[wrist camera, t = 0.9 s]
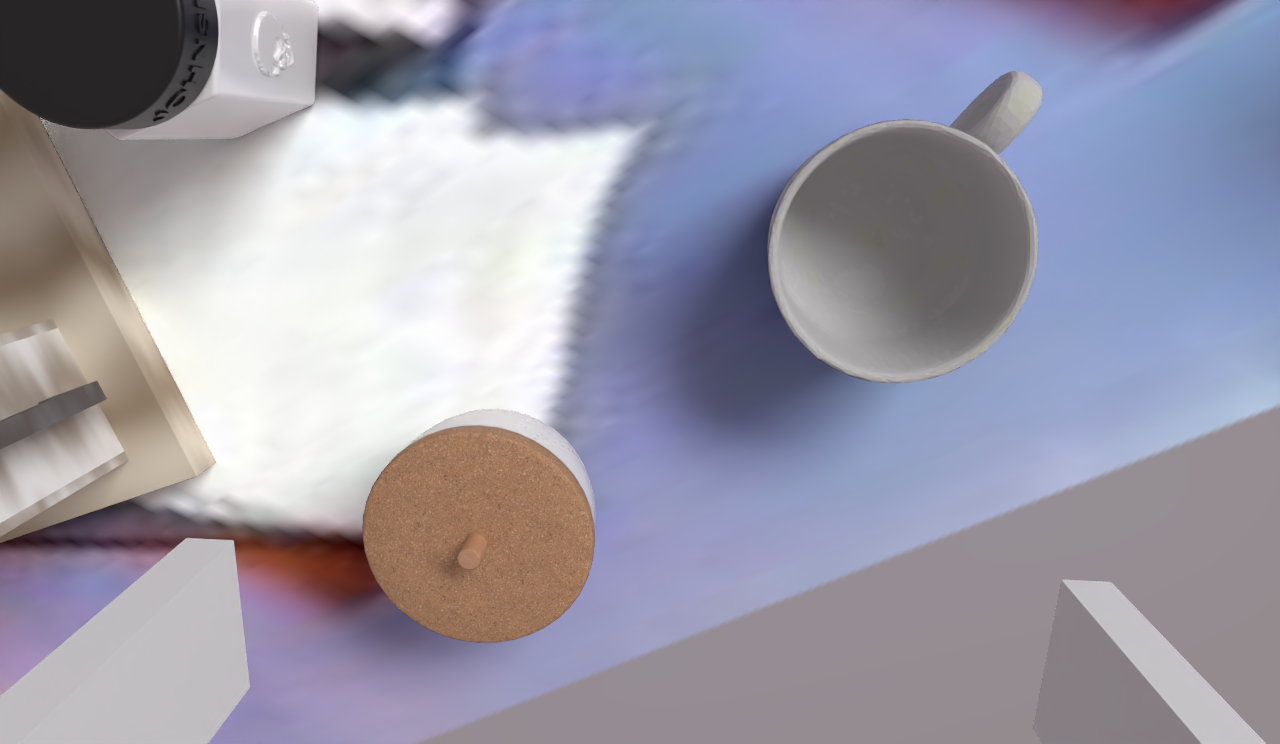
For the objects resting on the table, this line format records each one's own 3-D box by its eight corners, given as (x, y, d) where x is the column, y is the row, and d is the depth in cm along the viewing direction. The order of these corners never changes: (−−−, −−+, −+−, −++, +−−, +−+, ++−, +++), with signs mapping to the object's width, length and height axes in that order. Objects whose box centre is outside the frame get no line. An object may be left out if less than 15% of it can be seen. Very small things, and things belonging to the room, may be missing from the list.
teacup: (849, 382, 44) (887, 435, 37) (707, 231, 42) (715, 252, 35) (1070, 192, 41) (1161, 206, 34) (928, 21, 39) (989, -6, 32)
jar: (318, 151, 42) (184, 157, 31) (155, 126, 42) (-41, 123, 31) (327, -46, 40) (184, -119, 28) (153, -72, 40) (-61, -157, 28)
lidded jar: (464, 346, 45) (410, 400, 36) (642, 443, 46) (634, 520, 37) (379, 508, 47) (309, 597, 38) (549, 596, 48) (520, 703, 39)
